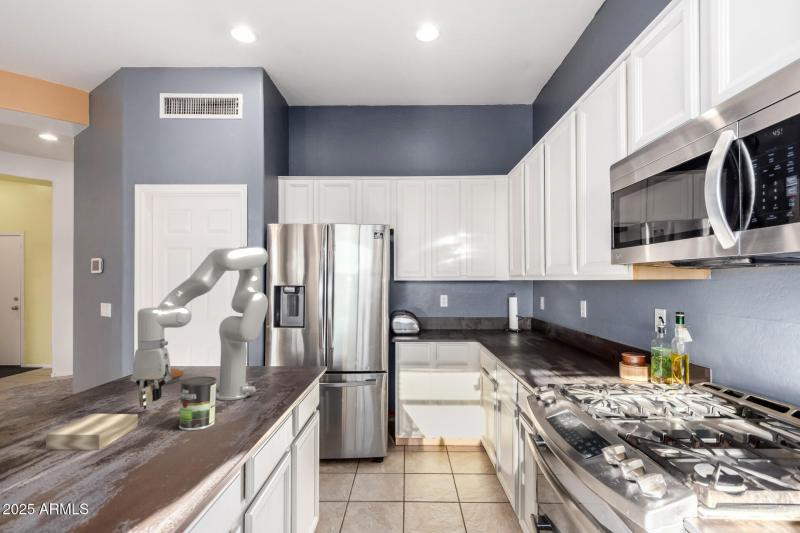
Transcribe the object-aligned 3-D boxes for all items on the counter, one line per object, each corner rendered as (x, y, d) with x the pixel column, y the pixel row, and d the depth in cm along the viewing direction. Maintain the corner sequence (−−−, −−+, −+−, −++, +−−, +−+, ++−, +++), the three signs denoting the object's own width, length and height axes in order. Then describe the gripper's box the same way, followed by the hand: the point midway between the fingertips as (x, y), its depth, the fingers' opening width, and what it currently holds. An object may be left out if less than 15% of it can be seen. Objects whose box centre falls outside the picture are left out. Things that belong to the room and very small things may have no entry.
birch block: (137, 427, 121) (137, 414, 121) (98, 449, 105) (99, 434, 105) (91, 426, 120) (92, 413, 121) (45, 449, 104) (46, 434, 105)
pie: (178, 376, 183) (178, 365, 183) (187, 383, 172) (187, 371, 172) (139, 381, 173) (139, 369, 173) (145, 389, 161) (146, 377, 161)
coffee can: (195, 433, 118) (197, 386, 118) (171, 427, 121) (173, 382, 122) (222, 421, 127) (224, 378, 128) (199, 416, 131) (200, 374, 131)
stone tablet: (142, 391, 122) (166, 380, 134) (130, 392, 122) (155, 380, 134) (144, 409, 122) (167, 396, 134) (132, 410, 122) (156, 397, 134)
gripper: (182, 342, 134) (182, 395, 134) (133, 342, 133) (134, 396, 133) (169, 347, 126) (170, 403, 126) (118, 347, 126) (119, 404, 126)
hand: (151, 399), depth 130 cm, fingers closed on stone tablet, 3 cm apart
